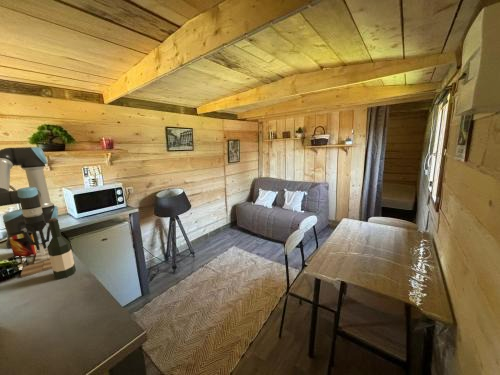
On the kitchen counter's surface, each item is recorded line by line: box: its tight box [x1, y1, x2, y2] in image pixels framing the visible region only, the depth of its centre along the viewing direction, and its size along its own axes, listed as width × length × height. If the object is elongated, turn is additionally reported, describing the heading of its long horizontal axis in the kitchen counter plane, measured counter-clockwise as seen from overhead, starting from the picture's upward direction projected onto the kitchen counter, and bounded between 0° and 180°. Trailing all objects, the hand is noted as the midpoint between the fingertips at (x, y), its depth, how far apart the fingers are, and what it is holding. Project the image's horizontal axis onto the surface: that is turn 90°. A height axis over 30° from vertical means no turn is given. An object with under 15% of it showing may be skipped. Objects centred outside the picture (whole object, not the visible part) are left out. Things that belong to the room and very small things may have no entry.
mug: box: [9, 233, 38, 258], centre depth 129 cm, size 10×14×12 cm
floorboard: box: [20, 260, 53, 278], centre depth 115 cm, size 11×16×2 cm
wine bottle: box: [46, 218, 77, 280], centre depth 105 cm, size 8×8×30 cm
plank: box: [33, 248, 50, 264], centre depth 126 cm, size 18×8×2 cm, turn 41°
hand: (43, 254), depth 121 cm, fingers closed
